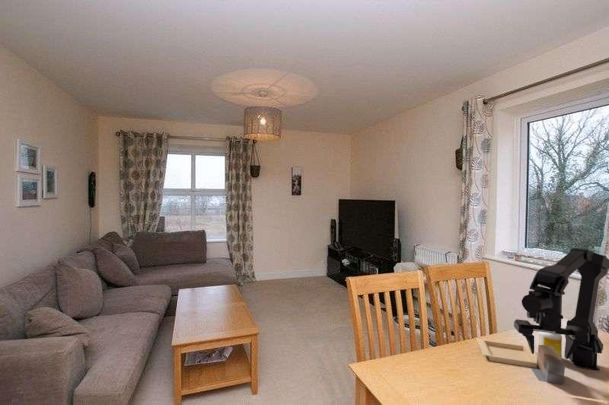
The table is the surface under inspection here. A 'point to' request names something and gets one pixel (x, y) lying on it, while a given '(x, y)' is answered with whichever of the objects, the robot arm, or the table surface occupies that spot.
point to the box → (550, 364)
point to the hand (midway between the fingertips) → (549, 355)
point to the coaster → (541, 377)
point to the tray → (508, 353)
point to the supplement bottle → (551, 341)
